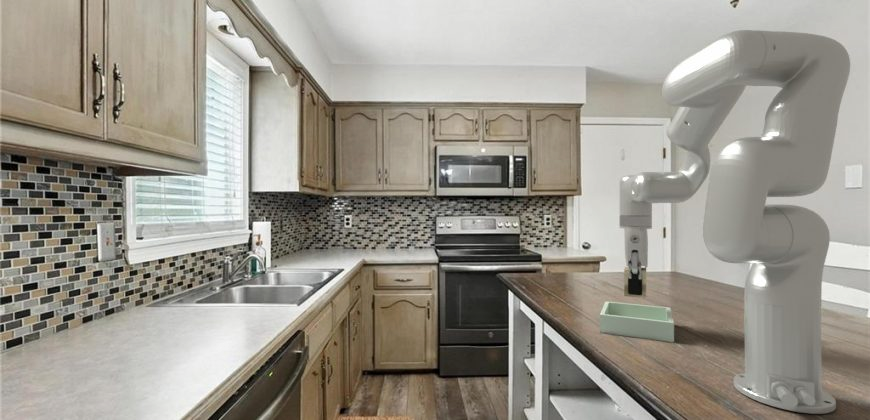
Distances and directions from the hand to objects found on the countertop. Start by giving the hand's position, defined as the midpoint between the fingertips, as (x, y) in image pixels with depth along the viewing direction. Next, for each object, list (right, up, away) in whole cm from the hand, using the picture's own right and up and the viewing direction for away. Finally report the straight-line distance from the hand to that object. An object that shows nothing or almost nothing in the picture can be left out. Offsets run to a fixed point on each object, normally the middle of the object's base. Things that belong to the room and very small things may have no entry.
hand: (635, 291), depth 102 cm
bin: (0, -10, 0) cm, 10 cm away
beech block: (0, -1, 0) cm, 1 cm away
